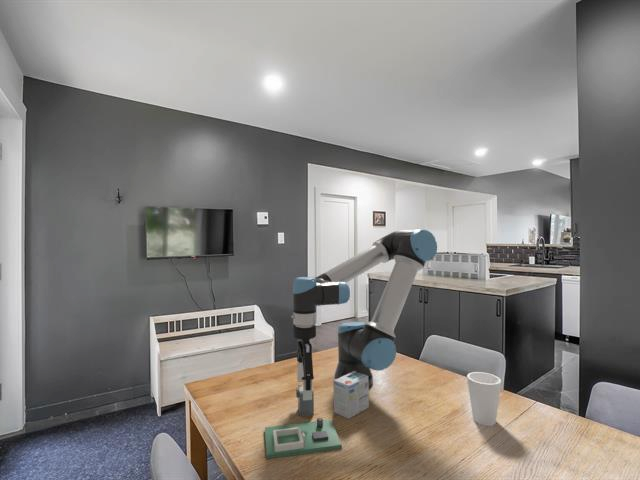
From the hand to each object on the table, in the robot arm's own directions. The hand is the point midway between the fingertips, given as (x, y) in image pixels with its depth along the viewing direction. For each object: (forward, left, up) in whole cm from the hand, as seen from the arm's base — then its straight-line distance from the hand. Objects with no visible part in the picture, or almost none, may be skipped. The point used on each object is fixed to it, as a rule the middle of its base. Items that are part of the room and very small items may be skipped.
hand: (304, 390), depth 110 cm
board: (+3, +14, -7) cm, 16 cm away
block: (0, 0, -7) cm, 7 cm away
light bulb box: (-15, +2, -8) cm, 17 cm away
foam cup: (-53, +17, -8) cm, 57 cm away
